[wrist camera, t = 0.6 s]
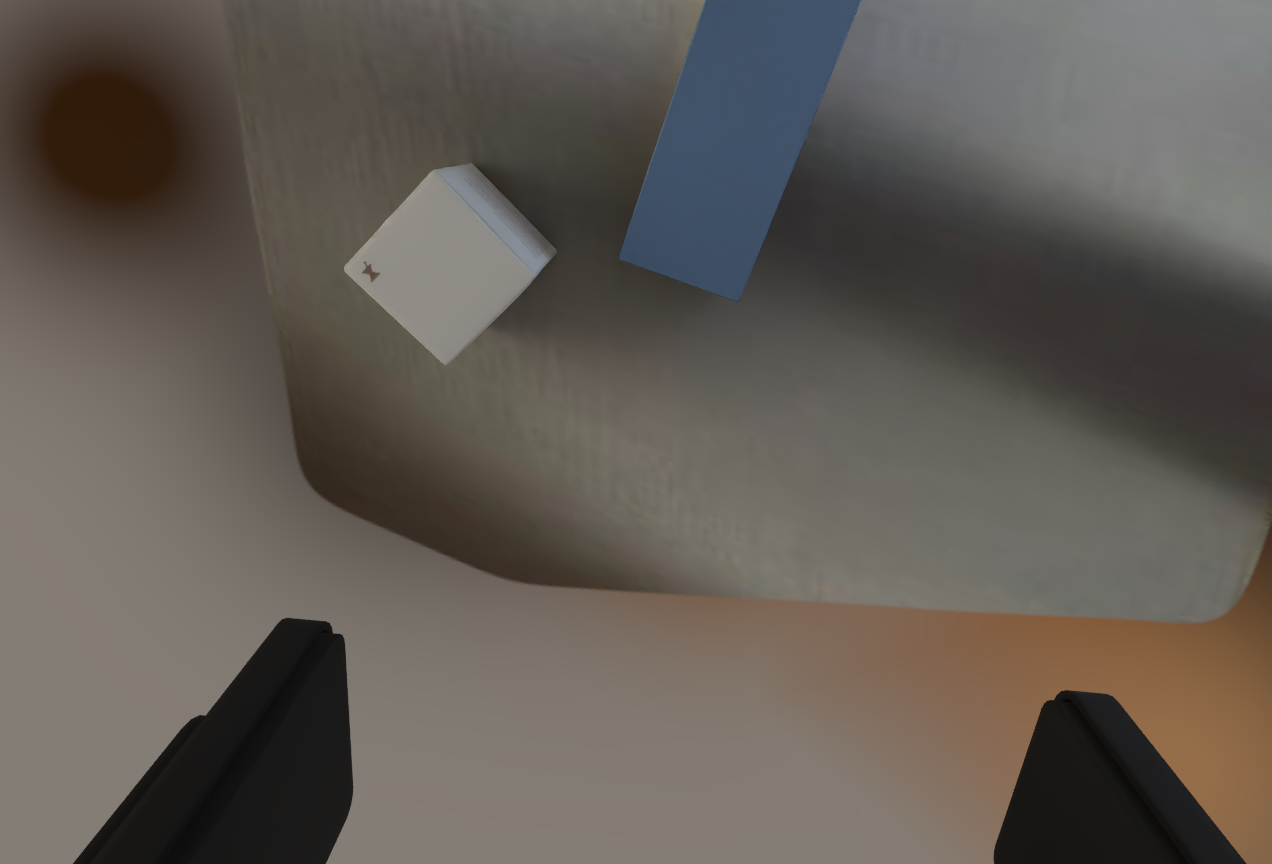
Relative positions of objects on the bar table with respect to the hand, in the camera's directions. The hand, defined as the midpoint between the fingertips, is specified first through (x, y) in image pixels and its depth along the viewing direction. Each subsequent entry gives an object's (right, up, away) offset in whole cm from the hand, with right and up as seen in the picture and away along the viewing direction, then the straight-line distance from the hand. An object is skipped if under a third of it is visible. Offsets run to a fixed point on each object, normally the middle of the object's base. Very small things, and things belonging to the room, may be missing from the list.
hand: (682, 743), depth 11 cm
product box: (-9, +14, +30) cm, 34 cm away
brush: (+4, +19, +27) cm, 33 cm away
